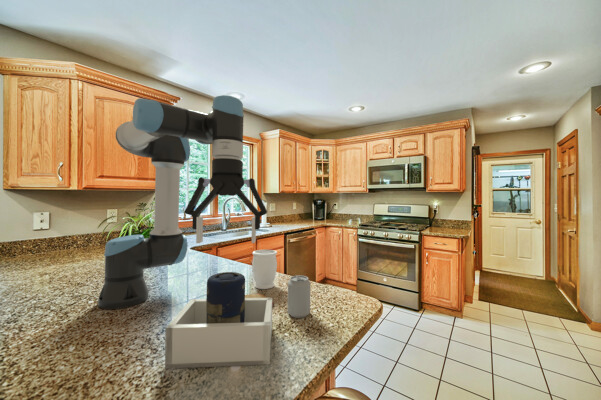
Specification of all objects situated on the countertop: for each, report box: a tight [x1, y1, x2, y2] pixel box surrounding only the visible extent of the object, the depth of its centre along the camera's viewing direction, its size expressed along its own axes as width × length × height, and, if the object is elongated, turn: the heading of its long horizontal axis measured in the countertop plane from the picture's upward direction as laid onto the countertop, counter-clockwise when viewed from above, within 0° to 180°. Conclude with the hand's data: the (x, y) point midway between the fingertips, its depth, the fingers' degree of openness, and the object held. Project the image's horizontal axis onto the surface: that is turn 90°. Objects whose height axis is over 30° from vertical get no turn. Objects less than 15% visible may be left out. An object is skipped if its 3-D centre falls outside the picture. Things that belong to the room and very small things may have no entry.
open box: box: [164, 297, 273, 370], centre depth 64 cm, size 23×16×9 cm
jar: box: [251, 249, 278, 290], centre depth 109 cm, size 11×10×15 cm
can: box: [287, 274, 311, 319], centre depth 83 cm, size 8×8×12 cm
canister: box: [205, 271, 246, 324], centre depth 64 cm, size 10×10×18 cm
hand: (226, 242), depth 64 cm, fingers open, 13 cm apart
